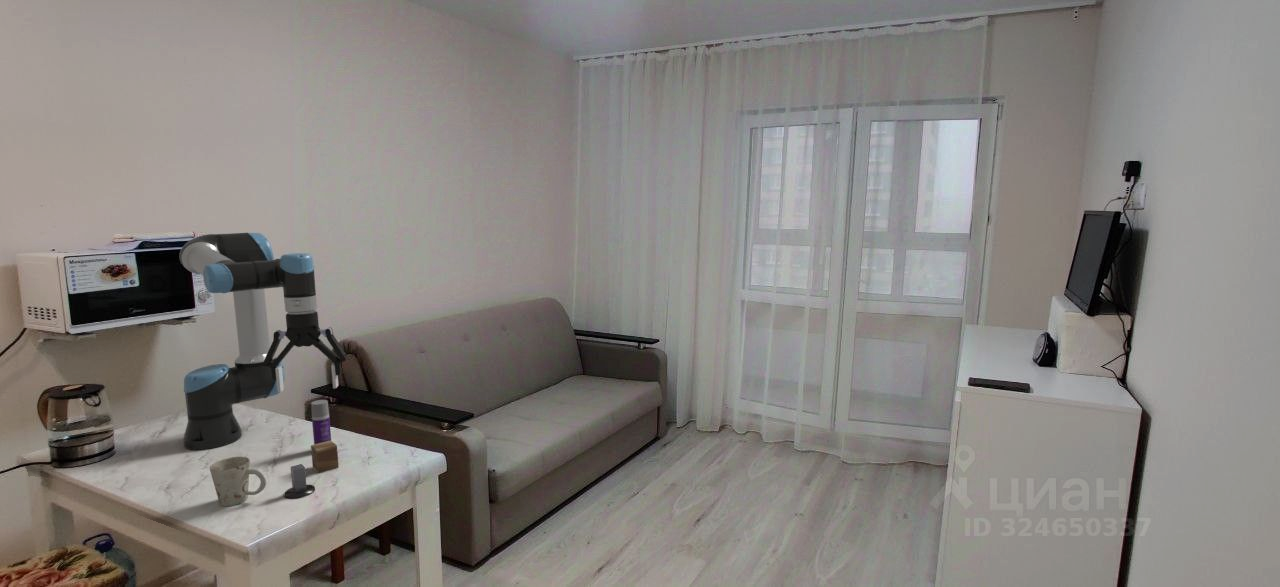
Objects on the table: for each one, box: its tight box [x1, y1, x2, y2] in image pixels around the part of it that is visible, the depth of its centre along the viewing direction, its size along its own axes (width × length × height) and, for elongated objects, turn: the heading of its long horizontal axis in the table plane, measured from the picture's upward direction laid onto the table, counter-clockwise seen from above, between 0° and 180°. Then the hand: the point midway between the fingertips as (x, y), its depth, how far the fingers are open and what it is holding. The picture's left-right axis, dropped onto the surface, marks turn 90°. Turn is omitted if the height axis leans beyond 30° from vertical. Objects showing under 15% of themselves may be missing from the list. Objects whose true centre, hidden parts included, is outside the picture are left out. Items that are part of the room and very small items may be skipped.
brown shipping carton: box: [310, 440, 340, 474], centre depth 175 cm, size 5×5×7 cm
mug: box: [209, 456, 267, 507], centre depth 156 cm, size 8×13×10 cm, turn 95°
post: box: [284, 463, 316, 499], centre depth 160 cm, size 7×7×7 cm
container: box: [310, 399, 332, 445], centre depth 187 cm, size 5×5×15 cm
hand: (308, 389), depth 167 cm, fingers open, 13 cm apart
